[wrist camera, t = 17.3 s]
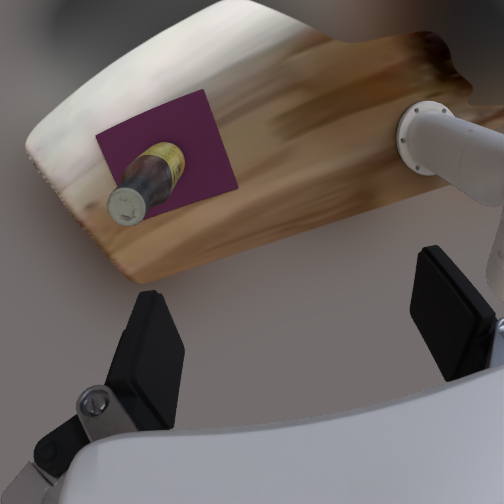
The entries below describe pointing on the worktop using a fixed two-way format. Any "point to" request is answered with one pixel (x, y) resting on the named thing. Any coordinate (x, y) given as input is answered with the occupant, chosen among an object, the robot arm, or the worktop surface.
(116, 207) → the sauce bottle
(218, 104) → the worktop surface
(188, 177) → the cloth
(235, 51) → the worktop surface
